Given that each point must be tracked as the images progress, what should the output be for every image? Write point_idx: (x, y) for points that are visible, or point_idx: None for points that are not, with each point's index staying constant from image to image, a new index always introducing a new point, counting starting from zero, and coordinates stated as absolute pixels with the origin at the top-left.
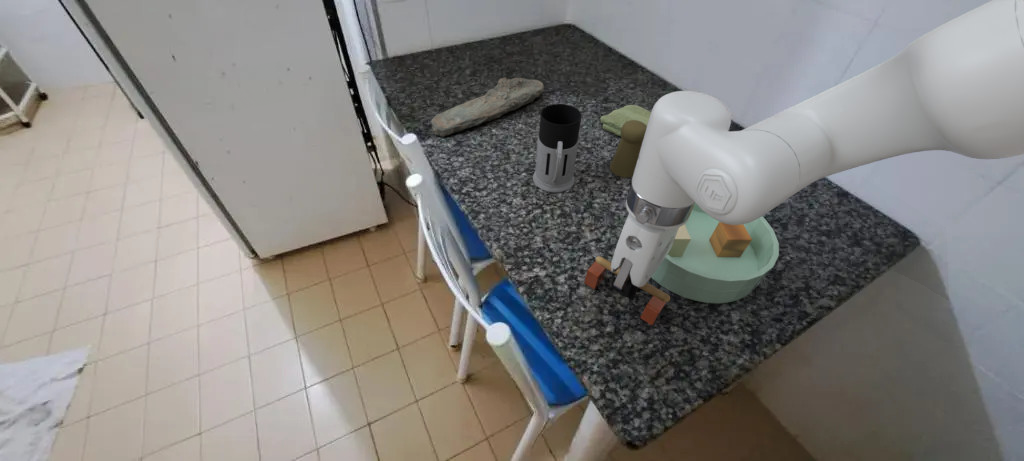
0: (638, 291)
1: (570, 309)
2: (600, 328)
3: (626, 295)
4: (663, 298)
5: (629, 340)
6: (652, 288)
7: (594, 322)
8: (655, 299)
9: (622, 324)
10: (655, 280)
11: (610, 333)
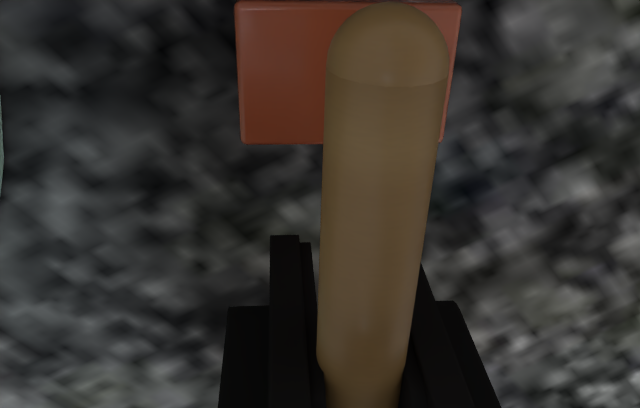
0: (297, 238)
1: (554, 375)
2: (599, 223)
3: (458, 314)
4: (441, 95)
5: (607, 48)
6: (395, 274)
7: (575, 263)
8: (321, 108)
9: (508, 141)
10: (1, 142)
11: (607, 166)
